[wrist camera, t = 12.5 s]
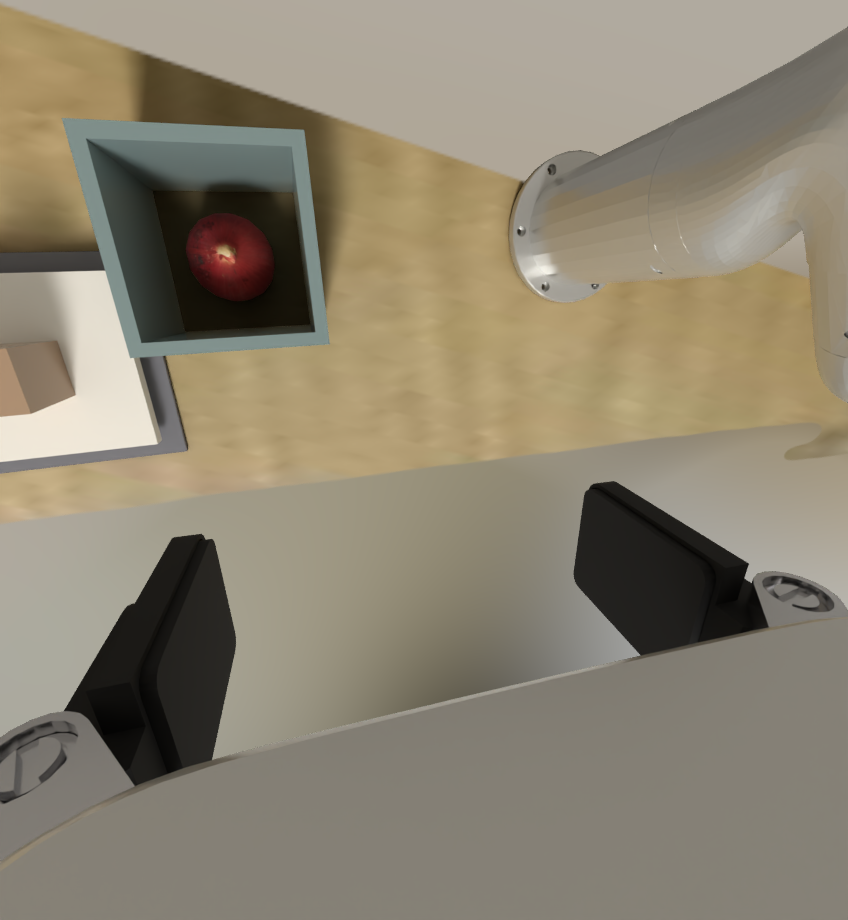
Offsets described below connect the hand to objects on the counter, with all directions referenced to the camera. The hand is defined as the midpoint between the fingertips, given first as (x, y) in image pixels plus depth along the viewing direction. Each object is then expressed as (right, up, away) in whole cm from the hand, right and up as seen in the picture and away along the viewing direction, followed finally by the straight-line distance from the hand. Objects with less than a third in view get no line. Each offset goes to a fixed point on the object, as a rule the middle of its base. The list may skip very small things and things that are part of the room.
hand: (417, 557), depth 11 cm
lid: (-28, +9, +21) cm, 37 cm away
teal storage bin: (-15, +18, +24) cm, 33 cm away
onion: (-15, +18, +24) cm, 34 cm away
